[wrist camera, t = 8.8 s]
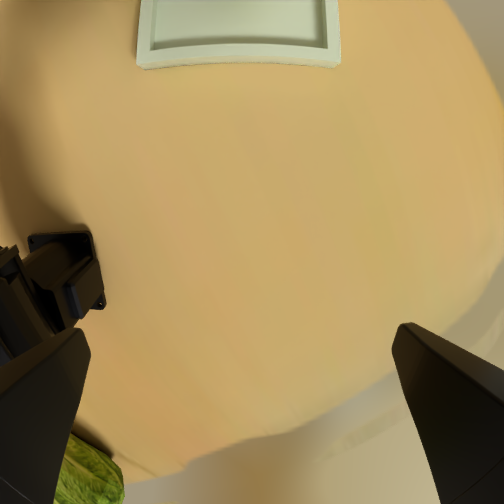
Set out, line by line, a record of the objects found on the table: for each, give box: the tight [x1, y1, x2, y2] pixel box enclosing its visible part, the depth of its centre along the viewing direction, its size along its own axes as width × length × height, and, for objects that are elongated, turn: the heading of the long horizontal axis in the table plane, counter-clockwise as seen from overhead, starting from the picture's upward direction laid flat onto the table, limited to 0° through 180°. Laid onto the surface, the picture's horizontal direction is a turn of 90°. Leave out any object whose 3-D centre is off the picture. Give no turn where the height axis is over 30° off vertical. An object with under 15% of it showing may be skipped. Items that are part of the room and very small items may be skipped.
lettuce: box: [53, 433, 125, 504], centre depth 24 cm, size 15×24×15 cm
